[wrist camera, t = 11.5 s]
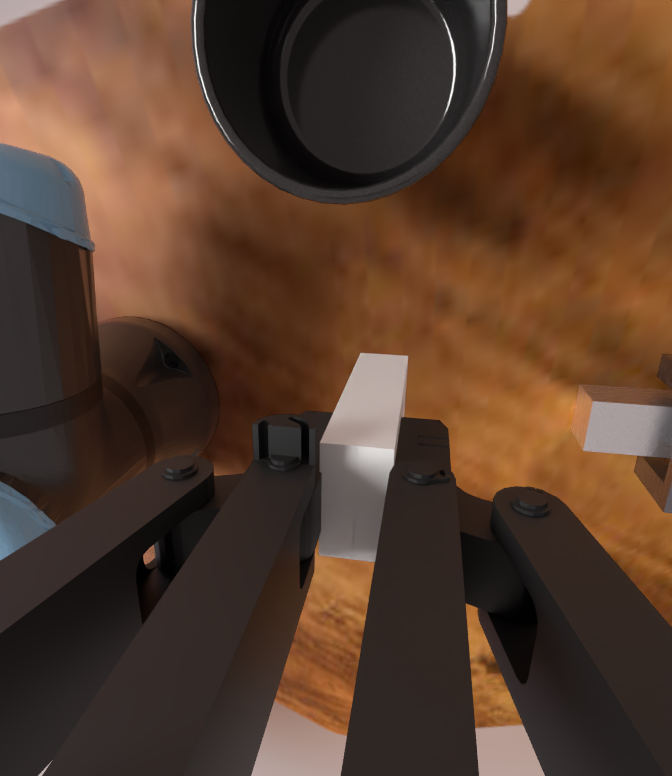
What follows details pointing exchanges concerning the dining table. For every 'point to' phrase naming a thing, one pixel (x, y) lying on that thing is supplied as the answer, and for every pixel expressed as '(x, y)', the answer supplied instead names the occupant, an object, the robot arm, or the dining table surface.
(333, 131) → the planter
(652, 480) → the collar
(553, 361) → the dining table surface
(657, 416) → the banded white block
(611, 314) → the dining table surface
